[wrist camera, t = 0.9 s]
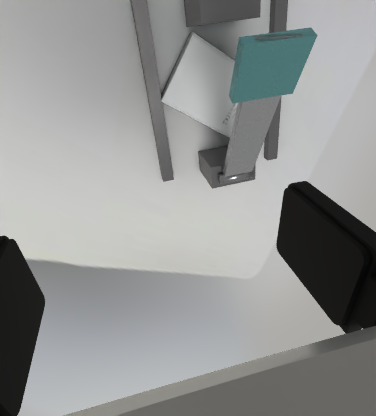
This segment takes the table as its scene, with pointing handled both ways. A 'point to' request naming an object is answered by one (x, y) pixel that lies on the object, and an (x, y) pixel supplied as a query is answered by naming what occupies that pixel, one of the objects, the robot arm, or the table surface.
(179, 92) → the external hard drive
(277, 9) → the socket frame
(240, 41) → the rectangular panel
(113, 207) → the table surface
